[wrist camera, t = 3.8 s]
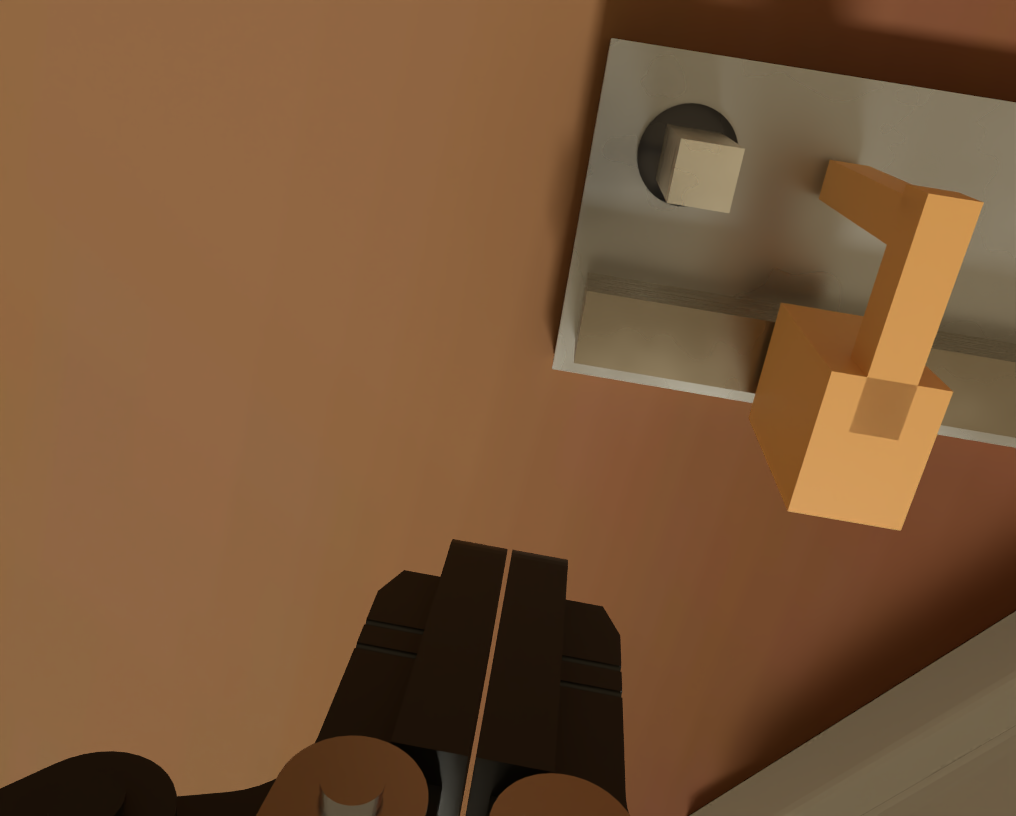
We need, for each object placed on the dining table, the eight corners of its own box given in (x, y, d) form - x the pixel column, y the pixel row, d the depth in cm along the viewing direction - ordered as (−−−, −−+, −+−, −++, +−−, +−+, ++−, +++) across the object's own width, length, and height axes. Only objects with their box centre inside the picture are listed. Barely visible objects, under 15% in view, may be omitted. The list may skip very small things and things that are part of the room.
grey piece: (554, 355, 26) (545, 423, 22) (610, 38, 23) (614, 36, 18) (1179, 461, 26) (1312, 555, 21) (1335, 154, 22) (1537, 183, 18)
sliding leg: (737, 392, 25) (787, 510, 18) (804, 147, 22) (889, 187, 16) (821, 406, 25) (901, 530, 18) (898, 162, 22) (1022, 208, 16)
